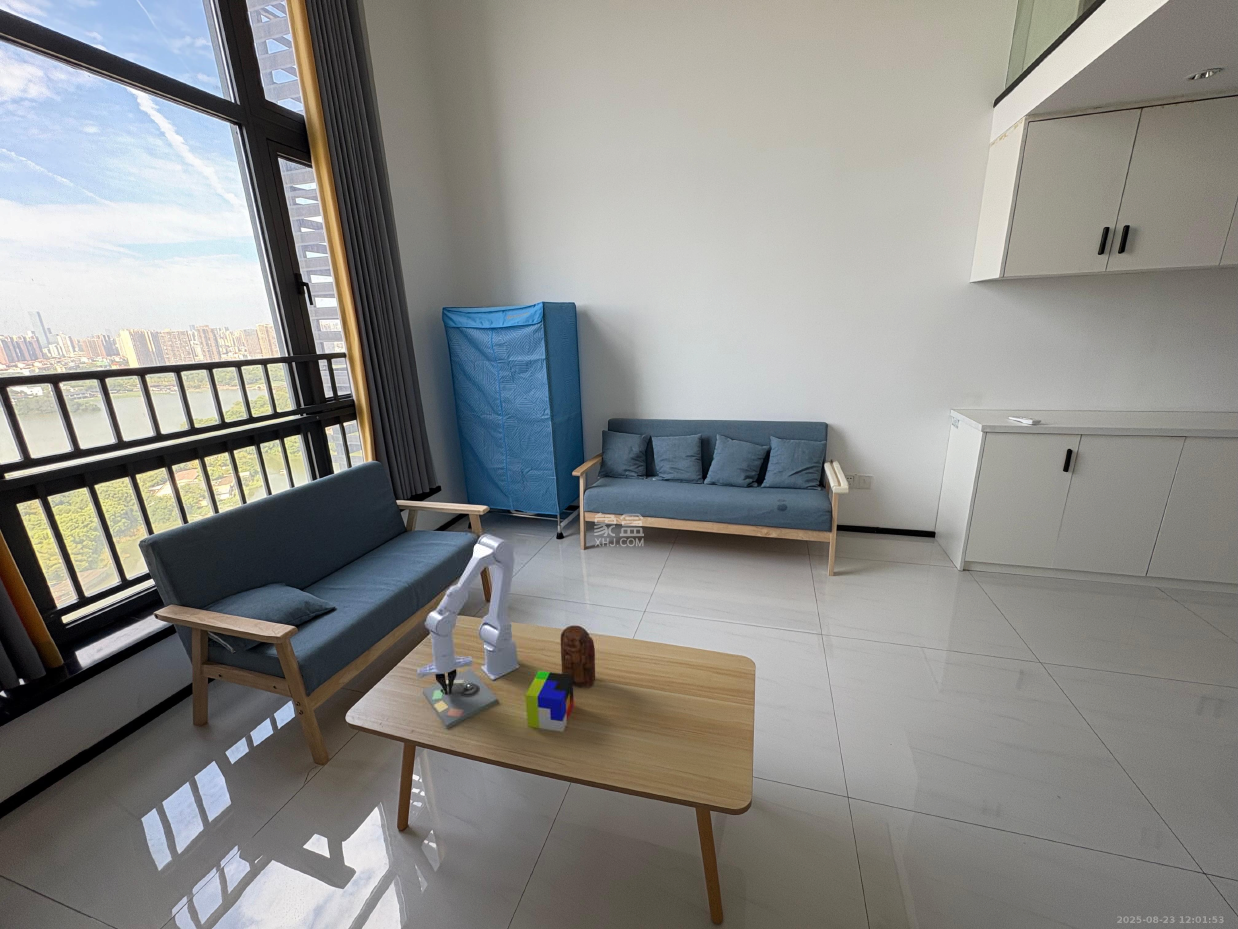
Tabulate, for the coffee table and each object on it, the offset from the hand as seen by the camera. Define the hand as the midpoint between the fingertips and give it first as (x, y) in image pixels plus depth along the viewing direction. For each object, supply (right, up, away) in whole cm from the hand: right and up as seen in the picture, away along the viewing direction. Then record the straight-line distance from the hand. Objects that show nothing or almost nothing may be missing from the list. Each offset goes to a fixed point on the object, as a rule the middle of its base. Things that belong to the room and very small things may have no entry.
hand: (448, 692), depth 142 cm
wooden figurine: (+37, -1, +9) cm, 38 cm away
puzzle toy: (+31, -4, -5) cm, 31 cm away
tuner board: (+3, -3, +2) cm, 4 cm away
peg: (+2, -1, +3) cm, 4 cm away
